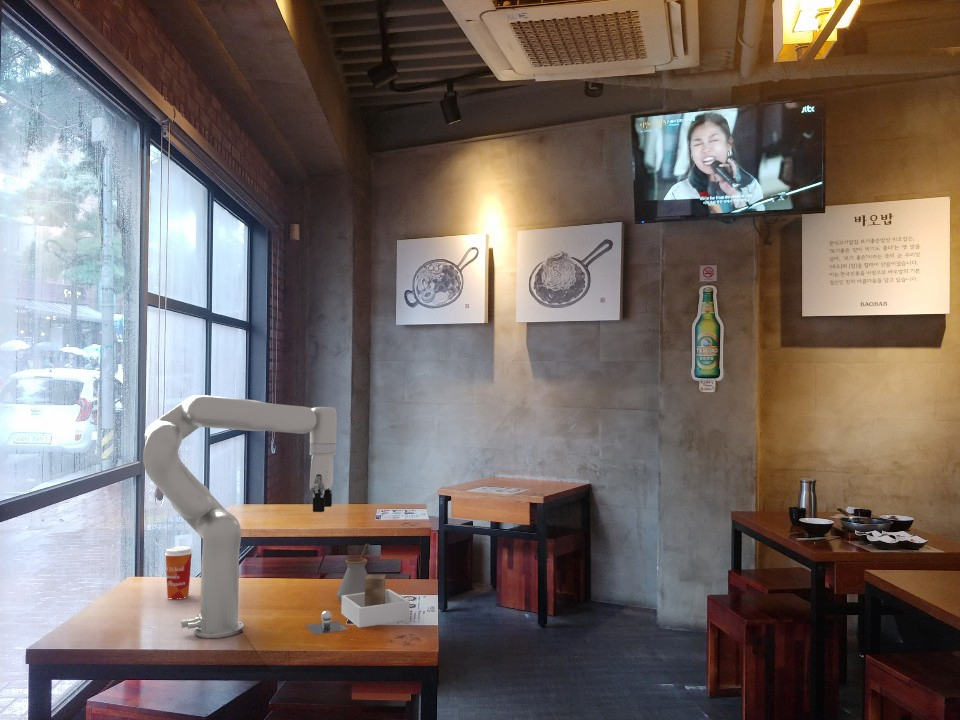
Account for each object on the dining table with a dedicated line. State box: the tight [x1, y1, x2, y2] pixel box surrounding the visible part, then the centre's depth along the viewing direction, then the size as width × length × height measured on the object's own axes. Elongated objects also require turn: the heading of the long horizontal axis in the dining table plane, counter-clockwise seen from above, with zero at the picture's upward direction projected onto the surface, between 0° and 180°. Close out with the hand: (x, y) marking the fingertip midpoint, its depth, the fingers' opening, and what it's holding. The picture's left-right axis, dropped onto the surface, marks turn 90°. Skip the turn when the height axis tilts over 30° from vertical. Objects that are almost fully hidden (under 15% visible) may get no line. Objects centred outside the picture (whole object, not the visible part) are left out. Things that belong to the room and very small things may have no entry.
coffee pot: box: [336, 543, 372, 602], centre depth 231 cm, size 21×12×15 cm, turn 175°
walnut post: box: [365, 574, 386, 607], centre depth 209 cm, size 5×5×11 cm
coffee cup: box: [164, 545, 194, 600], centre depth 232 cm, size 8×8×15 cm
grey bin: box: [340, 588, 410, 628], centre depth 209 cm, size 15×15×6 cm
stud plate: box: [304, 610, 348, 636], centre depth 199 cm, size 9×9×5 cm
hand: (322, 509), depth 214 cm, fingers open, 9 cm apart
